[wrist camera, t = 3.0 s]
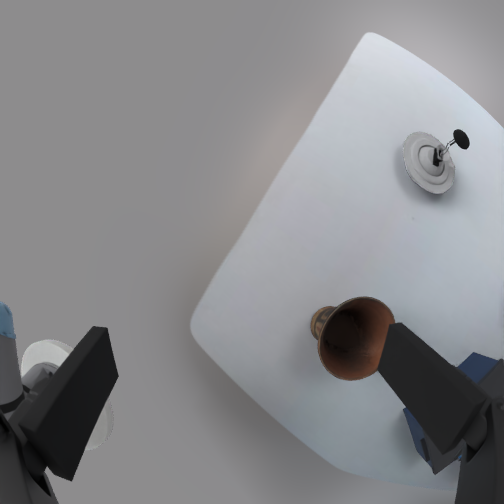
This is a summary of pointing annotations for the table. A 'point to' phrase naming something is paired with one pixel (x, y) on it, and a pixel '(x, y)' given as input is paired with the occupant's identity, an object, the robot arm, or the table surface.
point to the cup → (352, 336)
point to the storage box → (488, 378)
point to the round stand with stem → (431, 160)
